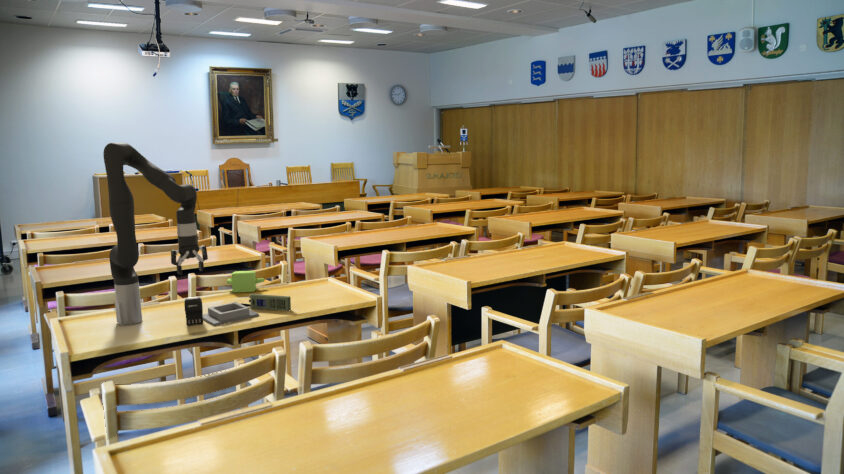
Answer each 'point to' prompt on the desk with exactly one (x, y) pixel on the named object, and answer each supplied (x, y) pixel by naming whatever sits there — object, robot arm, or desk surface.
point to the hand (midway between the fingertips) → (190, 272)
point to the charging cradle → (228, 313)
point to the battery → (193, 310)
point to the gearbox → (244, 281)
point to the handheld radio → (269, 302)
